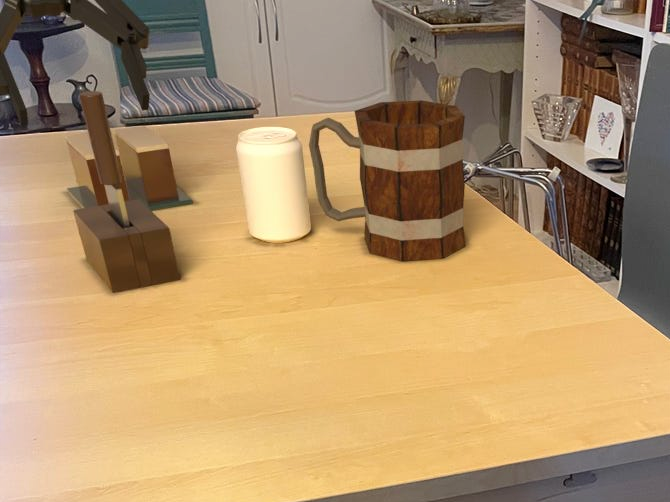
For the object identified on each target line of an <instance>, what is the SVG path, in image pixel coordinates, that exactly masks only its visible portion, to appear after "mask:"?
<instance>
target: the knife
mask: <svg viewBox="0 0 670 502" xmlns="http://www.w3.org/2000/svg"><path fill="white" fill-rule="evenodd" d="M78 96H79V101H80V106H81V110H82V113H83V117H84V121H85V126H86V130H87V133H88V134H89V138H90V142H91V146H92V150H93V154H94V158H95V162H96V166H97V170H98V174H99V179H100V183H101V184H103V185H104V186H105V190H106V194H107V198H108V202H109V206H110V210H111V215H112V218H113V219H114V220H115V221H116V222H117V224H118V225H119V226H120V227H121V228H122V229H123V228H127V227H130V224H129V219H128V215H127V211H126V207H125V202H124V198H123V194H122V189H121V188H120V187H119V186H118V185H117V184H119V183H121V182H122V177H121V173H120V169H119V164H118V160H117V156H116V152H115V148H116V147H115V143H114V139H113V135H112V134H113V133H112V131H111V130H112V129H111V126H110V122H109V117H108V113H107V109H106V105H105V100H104V95H103V93H102V92H101V91H98V90H87V91H81V92H79V94H78Z"/></svg>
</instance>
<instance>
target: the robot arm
mask: <svg viewBox="0 0 670 502" xmlns="http://www.w3.org/2000/svg"><path fill="white" fill-rule="evenodd" d="M94 2H95V3H96V5H98V6H99V7H98V6H96V5H95V4H94V3H93V2H91V1H90V0H5V1H4V4H3V6H2V7H1V10H0V95H1V96H3V95H8V96H9V99H10V101H11V105H12V106H13V108H14V111H15V114H16V116H17V119H18V122H19V124H20V127H26V126H29V119H28V117H29V116H28V110H27V107H26V104H25V102H24V99H23V98H22V95H21V92H20V89H19V86H18V84H17V82H16V80H15V77H14V75H13V72H12V69H11V68H10V65H9V63H8V60H7V57H6V56H5V53H6V51H7V49H8V46H9V44H10V42H11V40H12V38H13V36H14V34H15V32H16V30H17V28H18V26H20V25H21V23H22V22H23V20H24V17H25V16H26V15H28V16H31V18H32V19H36V18H39V19H40V18H42V17H45V16H50V17H61V14H62V13H63V14H65V15H66V16H68V17H69V18H70V19H72V20H73V21H79V22H80V23H82V24H83V25H85V26H86V27H88V28H89V29H91V30H92V31H93V32H94V33H96V34H98V35H99V36H101V37H102V38H103V39H105V40H106V41H108V42H109V43H110V44H112V45H114V46H115V47H116V48H118V49H119V50H120V51H121V54H120V59H121V62H122V64H123V66H124V69H125V72H126V74H127V76H128V79H129V82H130V84H131V86H132V89H133V91H134V94H135V97H136V99H137V101H138V104H139V106H140V109H141V111H149V109H150V93H149V90H148V87H147V84H146V82H145V80H144V79H147V69H148V68H147V63H146V61H145V58H144V56H143V54H142V53H143V52H142V51H141V49H143V50H147V49H148V48H149V45H150V44H149V43H150V28H149V26H148V25H146V23H145V22H144V21H143V20H142V19H141V18H140V17H139V16H138V15H137V14H136V13H135V12H134V11H133V10H132V9H131V8H130V7H129V6H128V5H127V4H126V3H125V2H124V1H123V0H94Z"/></svg>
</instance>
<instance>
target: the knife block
mask: <svg viewBox="0 0 670 502" xmlns="http://www.w3.org/2000/svg"><path fill="white" fill-rule="evenodd" d="M125 207H126V211H127V215H128V219H129V224H130V227H127V228H123V229H122V228H121V227H120V226H119V225H118V224H117V222H116V221H115V220H114V219H113V218H112V215H111V210H110V206H109V204H107V205H101V206H95V207H89V208H77V209H73V215H74V219H75V222H76V226H77V230H78V233H79V237H80V241H81V245H82V248H83V252H84V256H85V260H86V261H87V262H88V264H89V265H90V267H91V268H92V269H93V270H94V272H96V274H97V275H98V276H99V278H100V279H101V280H102V281H103V283H104V284H105V285H106V286H107V288H108V289H109V290H110V291H111V292H112V293H113V294H114V293H119V292H124V291H125V292H126V291H129V290H135V289H139V288H144V287H149V286H150V287H151V286H156V285H159V284H164V283H170V282H174V281H175V282H176V281H179V280H181V278H180V272H179V268H178V263H177V258H176V254H175V250H174V244H173V238H172V234H171V230H170V229H171V228H170V227H169V226H168V225H167V224H166V223H165V222H164V221H163V220H162V219H161V218H159V216H157V215H156V214H155V212H154V211H153V210H150V209H149V208H148V207H147V206H146V205H144V204H143V203H142V202H141V201H140V200H139V199H138V200H132V201H126V202H125Z"/></svg>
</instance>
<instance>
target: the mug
mask: <svg viewBox="0 0 670 502" xmlns="http://www.w3.org/2000/svg"><path fill="white" fill-rule="evenodd" d="M354 115H355V122H356V127H357V133H358V136H354V135H353V134H352V133H351V132H350V131H349V130H348V129H347V127H345V125H344V124H342V122H339V121H337V120H335V119H333V118H330V117H326V118H324V119H321V120H319V121H318V122H315V123H313V124H312V127H311V131H310V135H309V136H310V137H309V142H308V148H309V153H310V157H311V162H312V167H313V176H314V182H315V183H314V184H315V189H316V196H317V201H318V204H319V205H320V207H321V209H322V211H323V213H324V215H325V216H326V217H328V218H330V219H333V220H334V221H336V222H343V221H346V220H352V219H360V218H364V238H363V239H364V242H365V245H366V248H367V250H368V253H369V254H371V255H375V256H380V257H383V258H387V259H391V260H394V261H399V262H412V261H414V262H416V261H427V260H428V261H429V260H441V259H445V258H446V257H449V256H451V255H452V254H455V253H456V252H458V251H460V250H462V249H463V248H465V247H466V238H465V237H466V236H465V228H464V204H465V203H464V201H465V188H466V181H465V171H464V169H465V168H464V159H463V158H464V157H463V154H464V152H463V143H464V142H463V140H464V139H463V138H464V130H465V129H464V128H465V127H464V126H465V119H466V116H465V114H464V113H463V112H462V110H460V109H459V107H458V106H457V105H452V104H446V103H440V102H434V101H427V100H419V99H418V100H400V101H381V102H377V103H374V104H371V105H368V106H365V107H361V108H359V109H355V110H354ZM324 129H327V130H330V131H332V132H333V133H335V134H336V135H337V137H338V138H339V139H340V140H341V141H342V142H343V143H344V144H345V145H346V146H347V147H350V148H354V149H359V181H360V187H361V193H362V199H363V206H361V207H352V208H348V209H346V210H342V211H341V210H338V209H336V208H334V207H333V206H332V204H331V201H330V199H329V197H328V192H327V184H326V176H325V165H324V161H323V158H322V157H323V156H322V154H321V153H322V152H321V149H320V145H319V144H320V133H321V131H322V130H324Z"/></svg>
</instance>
